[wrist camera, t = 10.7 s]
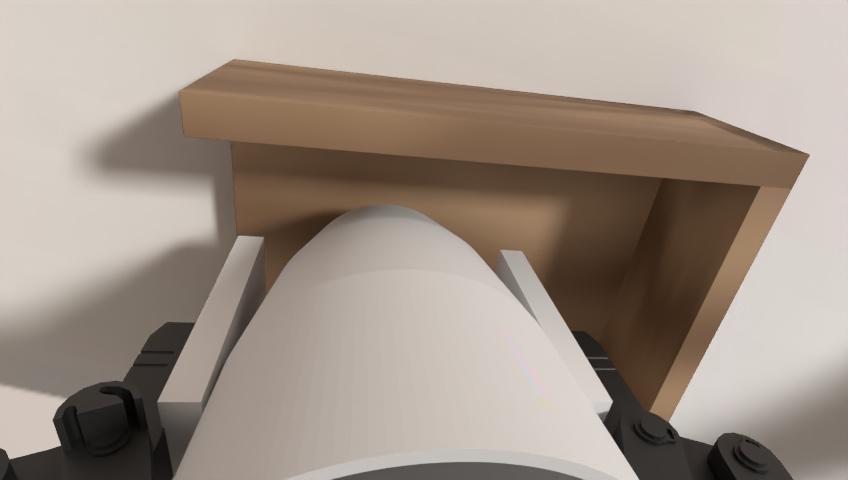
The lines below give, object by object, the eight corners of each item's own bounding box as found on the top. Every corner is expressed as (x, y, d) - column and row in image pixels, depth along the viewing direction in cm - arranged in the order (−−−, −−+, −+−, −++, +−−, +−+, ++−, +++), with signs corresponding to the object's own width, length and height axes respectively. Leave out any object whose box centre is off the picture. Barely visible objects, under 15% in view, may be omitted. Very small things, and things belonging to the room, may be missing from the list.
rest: (233, 58, 14) (178, 91, 10) (694, 111, 17) (810, 154, 13) (251, 355, 20) (220, 459, 16) (596, 360, 23) (653, 450, 18)
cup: (206, 215, 14) (-48, 599, 5) (460, 114, 13) (644, 355, 5) (326, 390, 18) (295, 774, 9) (526, 317, 17) (693, 653, 9)
